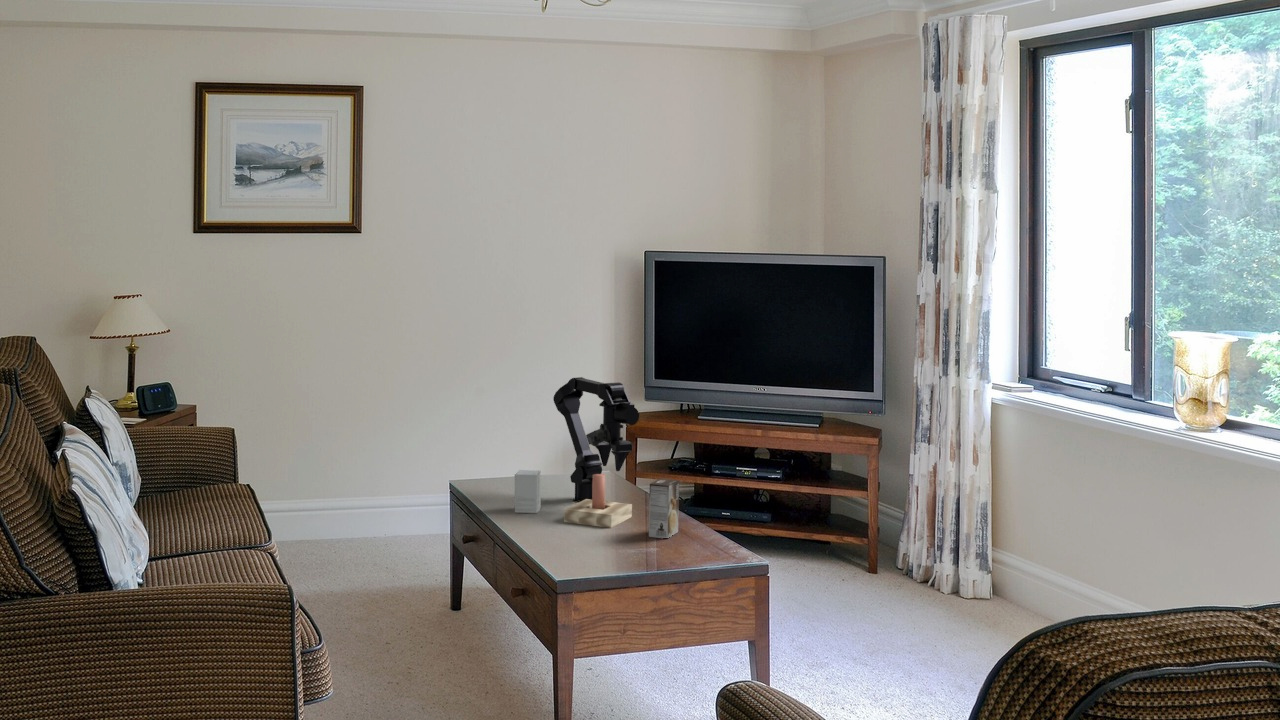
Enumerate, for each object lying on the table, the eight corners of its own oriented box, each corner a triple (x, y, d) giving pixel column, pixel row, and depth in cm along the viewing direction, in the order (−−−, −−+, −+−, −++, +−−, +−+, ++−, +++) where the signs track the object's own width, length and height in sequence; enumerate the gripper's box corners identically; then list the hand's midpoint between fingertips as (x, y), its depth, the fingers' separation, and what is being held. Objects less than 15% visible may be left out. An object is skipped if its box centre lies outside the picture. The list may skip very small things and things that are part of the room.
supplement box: (541, 508, 354) (541, 470, 353) (536, 513, 347) (537, 474, 346) (518, 507, 355) (519, 469, 354) (513, 512, 348) (514, 473, 347)
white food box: (658, 529, 330) (660, 477, 329) (678, 532, 328) (680, 479, 326) (647, 537, 322) (649, 483, 320) (668, 539, 319) (669, 485, 318)
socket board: (563, 521, 337) (564, 509, 337) (586, 511, 352) (586, 498, 352) (611, 527, 331) (611, 515, 331) (631, 516, 346) (632, 504, 346)
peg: (589, 519, 341) (589, 475, 340) (597, 517, 344) (598, 473, 343) (598, 521, 339) (599, 477, 338) (607, 519, 342) (608, 475, 341)
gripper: (577, 418, 359) (576, 465, 360) (603, 427, 343) (602, 475, 344) (607, 416, 364) (606, 462, 366) (634, 424, 348) (633, 473, 350)
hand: (611, 468), depth 356 cm, fingers open, 9 cm apart
